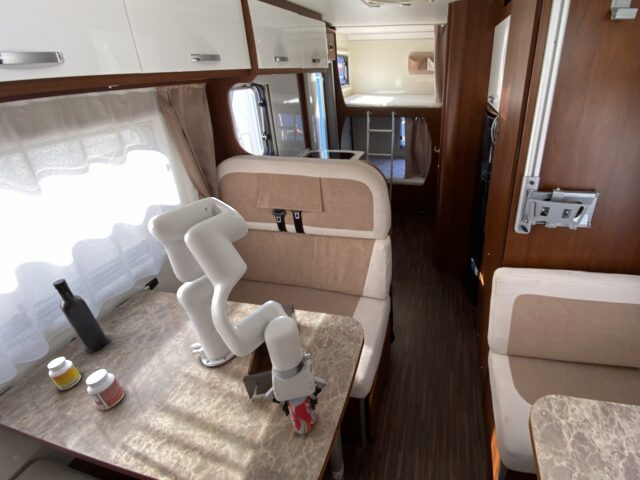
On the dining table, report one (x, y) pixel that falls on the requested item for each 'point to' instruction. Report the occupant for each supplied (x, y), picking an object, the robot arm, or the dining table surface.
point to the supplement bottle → (63, 373)
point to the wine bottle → (80, 317)
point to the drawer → (259, 374)
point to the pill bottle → (104, 389)
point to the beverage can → (301, 414)
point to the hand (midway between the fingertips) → (301, 407)
